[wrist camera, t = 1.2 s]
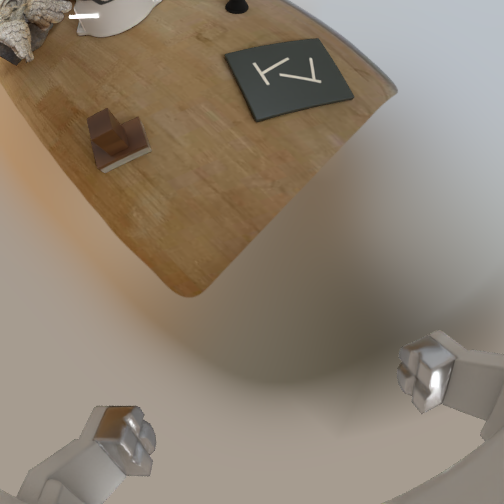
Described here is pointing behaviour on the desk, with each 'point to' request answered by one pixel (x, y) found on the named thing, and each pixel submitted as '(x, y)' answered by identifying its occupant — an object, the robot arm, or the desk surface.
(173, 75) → the desk surface
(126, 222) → the desk surface
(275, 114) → the chalkboard
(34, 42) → the cherub figurine
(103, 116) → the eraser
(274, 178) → the desk surface
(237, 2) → the chess piece
